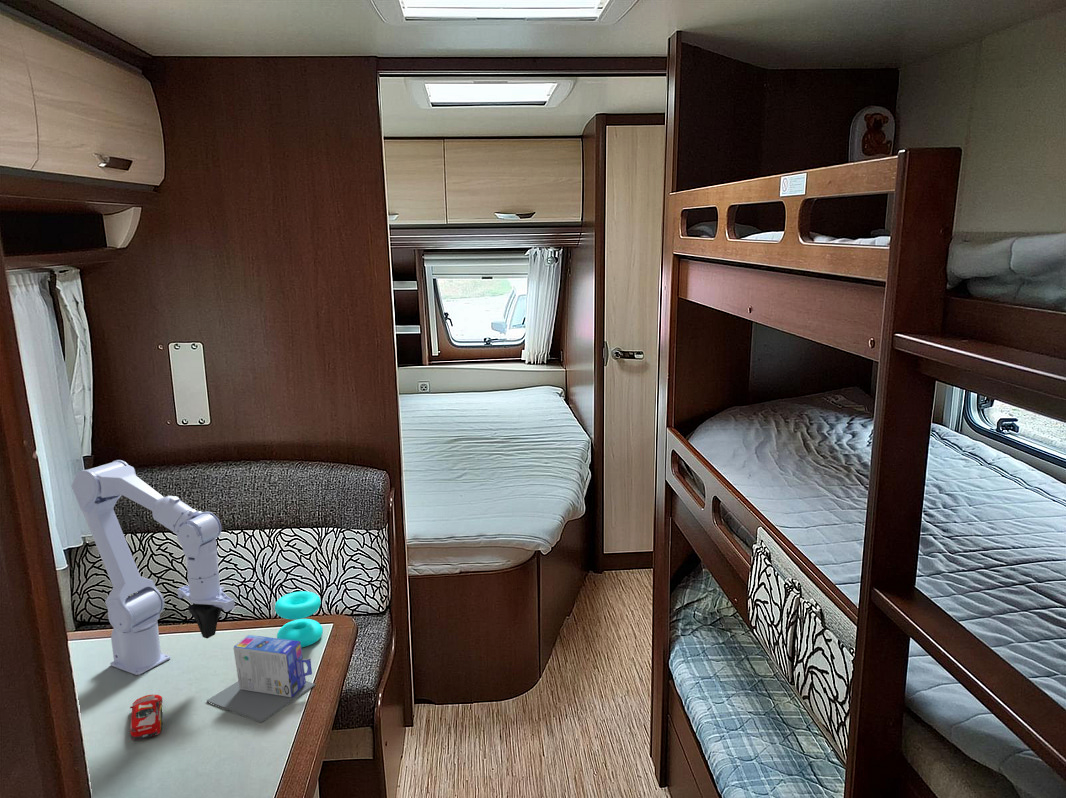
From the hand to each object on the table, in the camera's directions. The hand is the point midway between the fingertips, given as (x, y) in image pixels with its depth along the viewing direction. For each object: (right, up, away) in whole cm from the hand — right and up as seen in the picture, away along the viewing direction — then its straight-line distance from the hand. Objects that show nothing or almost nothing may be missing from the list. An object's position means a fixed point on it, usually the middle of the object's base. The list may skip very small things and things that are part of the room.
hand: (209, 635), depth 154 cm
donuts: (+14, -6, +17) cm, 23 cm away
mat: (+13, -10, -5) cm, 17 cm away
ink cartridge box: (+8, -4, -3) cm, 10 cm away
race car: (-6, -12, -13) cm, 19 cm away
